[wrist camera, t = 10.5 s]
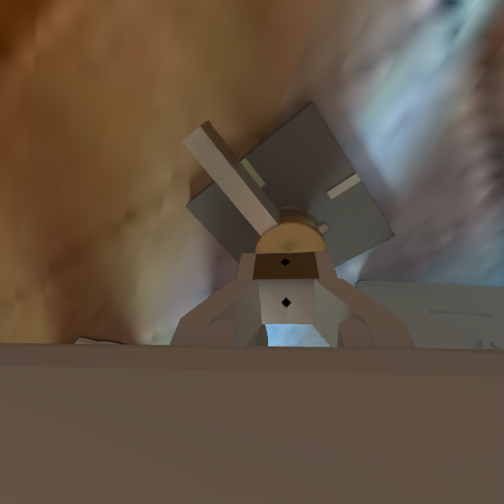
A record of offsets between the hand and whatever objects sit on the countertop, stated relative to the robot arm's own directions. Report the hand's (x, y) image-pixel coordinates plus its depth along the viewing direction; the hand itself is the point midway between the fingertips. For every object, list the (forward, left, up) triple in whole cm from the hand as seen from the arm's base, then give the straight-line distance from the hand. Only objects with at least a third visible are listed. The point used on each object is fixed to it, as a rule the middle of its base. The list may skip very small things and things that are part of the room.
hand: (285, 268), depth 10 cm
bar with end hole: (+4, -31, -25) cm, 40 cm away
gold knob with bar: (-5, -3, -19) cm, 19 cm away
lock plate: (-5, -8, -25) cm, 27 cm away
